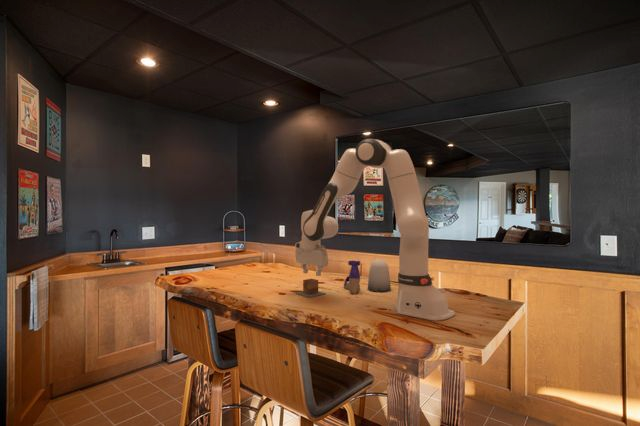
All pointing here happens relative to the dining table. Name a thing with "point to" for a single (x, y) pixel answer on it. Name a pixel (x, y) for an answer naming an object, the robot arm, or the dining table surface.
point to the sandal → (353, 277)
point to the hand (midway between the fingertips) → (311, 274)
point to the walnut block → (310, 286)
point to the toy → (379, 276)
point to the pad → (310, 295)
